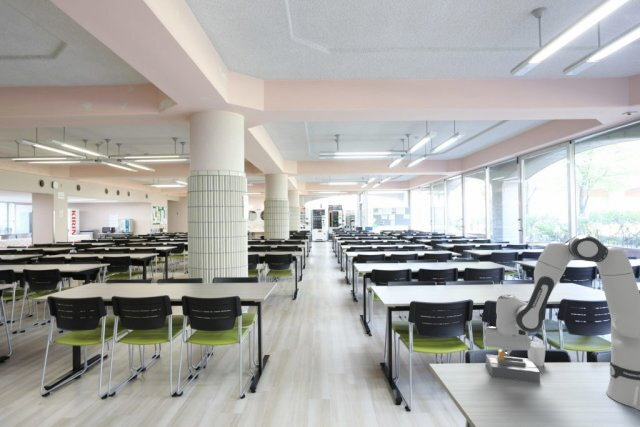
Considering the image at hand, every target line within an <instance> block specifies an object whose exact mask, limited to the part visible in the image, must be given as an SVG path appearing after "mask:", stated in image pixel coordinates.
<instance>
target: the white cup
mask: <svg viewBox="0 0 640 427" xmlns="http://www.w3.org/2000/svg"><path fill="white" fill-rule="evenodd" d="M530 343H531V348H530V349H529V350H527V357H528V358H527V359H530V360H531V361H532V362H533V364H534V365H535V366H536V367H544V366H545V359H546V358H545V357H546V345H545V344H544V343H541V342H538V341H530Z"/></svg>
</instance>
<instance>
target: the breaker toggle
mask: <svg viewBox="0 0 640 427" xmlns="http://www.w3.org/2000/svg"><path fill="white" fill-rule="evenodd" d="M497 352H498V353H497V355H498V360H499V362H500V360H504V351H503V350H502V349H501V348H500V349H498V350H497Z"/></svg>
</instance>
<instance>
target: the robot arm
mask: <svg viewBox="0 0 640 427" xmlns="http://www.w3.org/2000/svg"><path fill="white" fill-rule="evenodd" d="M574 259H578V260H581V261H585V262H593V263H595V265H596V266H597V270H598V273H599V276H600V280H601V284H602V288H603V292H604V296H605V300H606V304H607V308H608V311H609V312H608V313H609V315H610V316H609V317H610V340H611V341H610V342H611V348H610V350H611V351H610V352H611V353H610V356H611V360H609V375H610V377H609V382H608V385H607V389H606V391H605V394H606V395H607V396H608V397H609V398H611V399H612V400H613V401H616V402H618V403H620V404H622V405H626V406H629V407H632V408H633V409H636V410H637V411H640V290H639V287H638V284H637V283H638V282H637V280H636V276H635V272H634V269H633V266H632V263H631V261H630V259H629V257H628V255H627V254H626V252H625V251H624V249H622V248H620V247H616V246H615V247H614V246H608V247H607V246H605V245H604V244H603V243H602V241H600V240H599V239H597V238H596V237H594V236H593V235H589V234H580V235H576V236H573V237H572V238H570V239H568V240H567V241H565V242H564V243H563V242H561V241H552V242H549V243H547V245H546V246H545V248H544V249H543V250H542V252H541V253H540V255H539V257H538V259H537V261H536V264H535V266H534V270H533V279H534V285H533V290H532V293H531V295H530V298H529V299H528V302H525V301H523V300H521V299H519V298H518V297H517V296H515V295H513V294H502V295H500V296H499V297H497V300H496V305H495V308H496V310H495V313H496V319H495V320H496V321H495V326H485V327H484V328H483V330H482V334H483V344H484V345H485V347H492V348H494V347H495V348H500V349H501V350H503V351H504V356H505V357H510V354H511V352H512V351H513V349H515V350H526V351H528V350H529V349H530V348H531V343H530V342H531V339H530V337H529V333H536V332H539V331H540V330H541V329H542V327H543V323H544V321H543V312H544V310H545V308H546V306H547V303H548V301H549V298H550V296H551V294H552V292H553V290H554V289H555V287H556V286H557V284H558V283H559V281H560V280H561V278H562V276H563V275H564V273H565V271H566V269H567V268H568V265H569V264H570V262H571V261H573V260H574ZM506 349H507V351H506Z"/></svg>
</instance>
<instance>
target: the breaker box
mask: <svg viewBox="0 0 640 427" xmlns="http://www.w3.org/2000/svg"><path fill="white" fill-rule="evenodd" d="M486 364H487V365H486ZM485 365H486V367H487V369H489V370H488V372H489V371H490V372H489V374H490V376H491V378H498V379H505V380H515V381H523V382H532V383H539V384H541V372H540V370H539V369H538V368H537V367H538V366H535V365H534V364H533V362H532V361H531V360H530V359H528V358H525V357H516V356H515V357H514V356H509V357H505V356H504V360H500V362H499V360H498V354H497V355H495V354H487V353H486V354H485Z"/></svg>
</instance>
